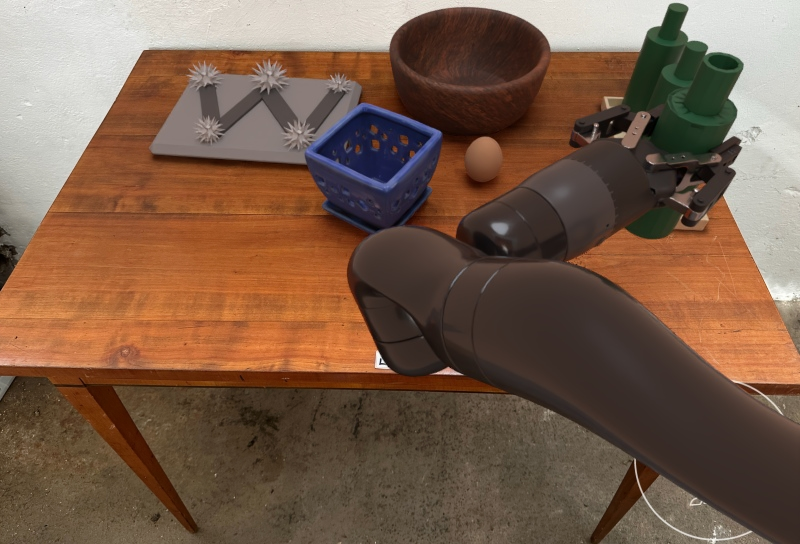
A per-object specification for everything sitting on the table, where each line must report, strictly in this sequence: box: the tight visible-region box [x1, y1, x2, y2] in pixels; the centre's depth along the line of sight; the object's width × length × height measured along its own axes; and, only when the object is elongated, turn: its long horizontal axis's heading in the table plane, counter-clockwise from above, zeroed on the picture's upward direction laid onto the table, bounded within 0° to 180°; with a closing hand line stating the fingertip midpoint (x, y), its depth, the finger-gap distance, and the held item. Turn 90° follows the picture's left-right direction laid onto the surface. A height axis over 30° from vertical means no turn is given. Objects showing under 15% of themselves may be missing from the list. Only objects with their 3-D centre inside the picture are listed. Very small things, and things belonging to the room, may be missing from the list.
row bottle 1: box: [621, 2, 689, 114], centre depth 80 cm, size 6×6×18 cm
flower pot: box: [305, 102, 444, 235], centre depth 71 cm, size 13×13×12 cm
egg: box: [463, 136, 504, 183], centre depth 77 cm, size 5×5×7 cm
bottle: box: [624, 51, 745, 240], centre depth 50 cm, size 6×6×18 cm
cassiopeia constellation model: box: [148, 59, 363, 166], centre depth 86 cm, size 30×22×7 cm
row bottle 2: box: [642, 40, 709, 141], centre depth 74 cm, size 6×6×18 cm
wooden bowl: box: [388, 6, 552, 137], centre depth 88 cm, size 25×25×10 cm
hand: (702, 128), depth 50 cm, fingers closed on bottle, 5 cm apart
